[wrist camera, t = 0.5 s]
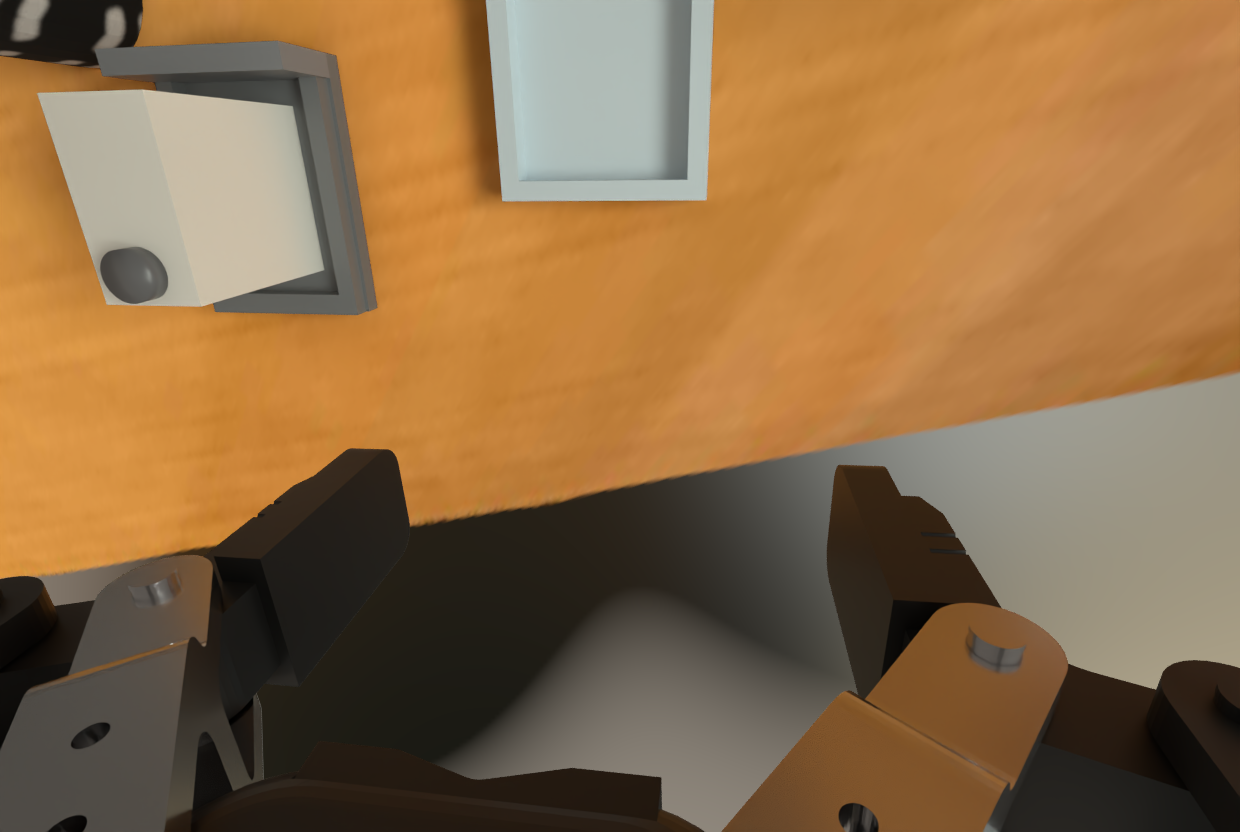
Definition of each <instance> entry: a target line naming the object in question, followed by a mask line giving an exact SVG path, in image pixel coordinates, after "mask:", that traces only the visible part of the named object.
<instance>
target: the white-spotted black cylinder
mask: <svg viewBox="0 0 1240 832" xmlns="http://www.w3.org/2000/svg"><path fill="white" fill-rule="evenodd" d="M142 12H143V7H142V0H0V56H6V57H13V58H20V59H28V60H35V61H42V62H50V63H57V64H65V65H72V66H79V67H87V68H100V66H99V63H98V59H97V56H96V52H95V49H103V48H126V47H133V46H134V44H135V42H136V40H137V38H138V35H139V31H140V28H141V22H142Z"/></svg>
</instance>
